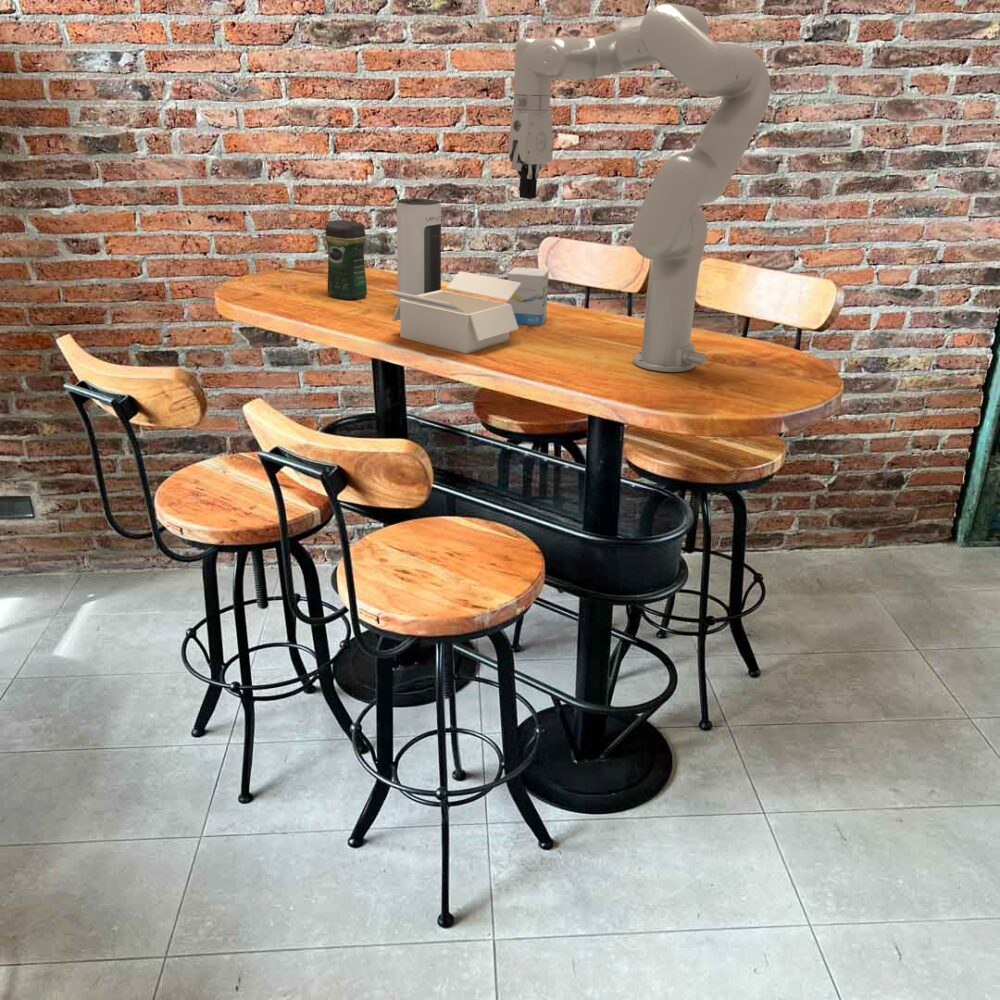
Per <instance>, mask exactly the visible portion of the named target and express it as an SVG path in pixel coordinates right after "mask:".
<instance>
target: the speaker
mask: <svg viewBox="0 0 1000 1000" xmlns="http://www.w3.org/2000/svg"><path fill="white" fill-rule="evenodd" d="M396 245H397V246H396V251H397V253H396V255H397V258H396V260H397V266H396V267H397V291H398V292H403V293H407V294H412V295H420V294H425V293H429V292H434V291H438V290H442V202H441V201H440V200H438V199H431V198H430V199H429V198H418V197H417V198H416V197H409V198H402V199H401V198H400V199H398V200H396ZM400 299H401V298H399V297H397V304H398V303H399V300H400Z"/></svg>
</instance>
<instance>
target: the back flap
mask: <svg viewBox="0 0 1000 1000" xmlns="http://www.w3.org/2000/svg"><path fill="white" fill-rule="evenodd" d="M521 284H522V283H520V282H515V281H509V280H508V279H503V278H499V277H492V276H488V275H487V276H486V275H482V274H477V273H471V272H467V271H466V272H465V271H461V270H460V271H458V273H457V274H456V276H454V278H453V279H451V281H450V283H449V284H448V285H447V286H446V289H447V290H452V291H456V292H459V293H460V292H461V293H466V294H471V295H475V296H480V297H485V298H489V299H494V300H495V299H496V300H501V301H504V302H505V301H506V302H507V301H509V300H510V299H511V297H512V296H513V295H514V294H515V293H516V291H517V290H518V288H519V287H520V286H521Z"/></svg>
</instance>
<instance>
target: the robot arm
mask: <svg viewBox="0 0 1000 1000" xmlns="http://www.w3.org/2000/svg"><path fill="white" fill-rule="evenodd" d="M615 29H616V30H615V31H613V32H611V33H607V34H606V33H605V34H603V35H599V36H594V37H587V38H579V37H563V36H556V37H555V36H554V37H549V38H538V37H523V38H519V39H517V42H516V44H515V52H514V53H515V54H514V76H513V77H514V79H513V80H514V81H513V104H512V105H513V107H512V116H511V121H510V126H509V138H508V159H509V161H510V162H511V169H512V170H514V171H517V175H518V178H519V194H518V197H519V198H520V199H526V200H532V199H533V200H535V199H536V198H537V184H538V183H537V181H538V179H539V176H540V171H541V170H542V169H544V168H546V166H547V164H549V163H550V162H551V161H552V159H553V152H554V151H553V150H554V146H553V145H554V144H553V143H554V142H553V141H554V138H553V137H554V136H553V133H554V132H553V119H552V112H551V111H550V110H551V92H552V79H553V80H574V81H575V80H577V81H578V80H579V81H581V80H582V81H584V80H589V79H590V80H591V79H595V78H599V77H606V76H610V75H615V74H619V73H623V72H628V71H630V70H632V69H633V70H634V69H637V68H642V67H647V66H650V65H657V64H659V65H661V66H662V68H664V69H665V70H666V71H668V73H670V74H671V75H672V76H673V77H675V78H676V79H677V80H678V81H679V82H681V83H682V84H683V85H684V86H685V87H686V88H688V89H689V90H690V91H692V92H693V93H695V94H697V95H700V96H702V97H709V98H710V97H721V98H722V99H721V101H720V103H719V105H718V107H716V110H715V111H713V113H712V114H711V116H710V117H709V119H708V120H707V122H706V123H705V125H704V127H703V131H702V132H701V134H700V136H699V138H698V140H697V141H696V144H695V146H694V147H693V149H692V150H690V151H684V152H679V153H676V154H674V155H673V156H671V157H669V158H668V159H667V160H666V161H665V162H664V163H663V164H662V165H661V167H660V168H659V170H658V172H657V173H656V175H655V177H654V179H653V181H652V183H651V186H650V187H649V190H648V191H647V194H646V196H645V198H644V199H643V202H642V204H641V206H640V208H639V210H638V212H637V214H636V216H635V219H634V222H633V224H632V227H631V228H632V230H631V238H632V239H631V240H632V244H633V247H634V248H635V250H636V252H637V253H638V254H639V255H640V256H641V257H643V258H646V259H648V260H651V263H650V264H651V266H650V269H649V274H648V283H647V291H646V292H647V293H646V300H645V301H646V303H645V313H644V322H643V333H642V342H641V343H642V344H641V351H639V352H637V353H635V354H634V355H633V357H632V362H633V363H634V365H635V366H637V367H640V368H641V369H645V370H649V371H655V372H660V373H661V372H662V373H663V372H665V373H682V372H688V371H691V370H693V369H694V368H695V367H696V365H701V366H704V365H705V364H706V360H707V356H706V353H704V352H699V351H698V352H697V351H696V350H695V343H691V337H692V329H693V321H694V313H695V303H696V295H697V289H698V288H697V287H698V281H699V273H700V267H701V262H702V258H703V254H704V250H705V247H706V242H707V239H708V223H707V219H706V217H705V214H704V212H703V211H702V210H701V209H699V208H698V207H697V206H701V205H705V204H706V205H707V204H708V203H709V204H710V203H713V202H715V201H717V199H719V198H721V196H722V194H724V192H725V190H726V189H727V187H728V185H729V183H730V181H731V178H732V177H733V175H734V173H735V171H736V169H737V168H738V166H739V164H740V163H741V162H740V161H741V159H742V158H743V156H744V154H745V152H746V151H747V147H748V146H749V144H750V142H751V140H752V138H753V136H754V134H755V132H756V131H757V129H758V127H759V125H760V123H761V121H762V120H763V117H764V115H765V113H766V110H767V108H768V105H769V102H770V97H771V78H770V74H769V70H768V68H767V66H766V64H765V62H764V61H763V59H762V58H761V56H760V55H759V54H758V53H757V52H756V51H754V50H753V49H751V48H750V47H748V46H744V45H742V44H741V45H740V44H735V43H734V44H733V43H720V42H717V41H715V40H714V39H713V38H711V37H710V36H709V24H708V21H707V18H706V17H705V15H704V14H703V13H702V12H701V10H699V9H698V8H696V7H693V6H690V5H683V4H676V3H669V2H667V3H666V2H665V3H661V4H658V5H656V6H653V7H652V8H651V9H650V10H649V11H648V12H646V14H645V15H640V16H636V17H633V18H628V19H624V20H621V21H620V22H619V24H618V25H617V27H616V28H615Z"/></svg>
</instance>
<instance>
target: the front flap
mask: <svg viewBox="0 0 1000 1000" xmlns="http://www.w3.org/2000/svg"><path fill="white" fill-rule="evenodd" d="M385 292H386V293H387V292H388V293H389V294H391V295H392V296H395V297H397V298H398V297H399V298H401V299H404V300H408V301H413V302H417V303H422V304H427V305H431V306H436V307H440V308H445V309H449V310H454V311H459V312H463V313H465V311H464V310H463V309H461V308H459V307H457V306H455V305H453V304H452V303H450V302H445V301H440V300H436V299H431V298H426V297H421V296H417V295H412V294H407V293H403V292H398V290H393V289H392V290H391V289H388V288H387V289H385Z"/></svg>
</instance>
